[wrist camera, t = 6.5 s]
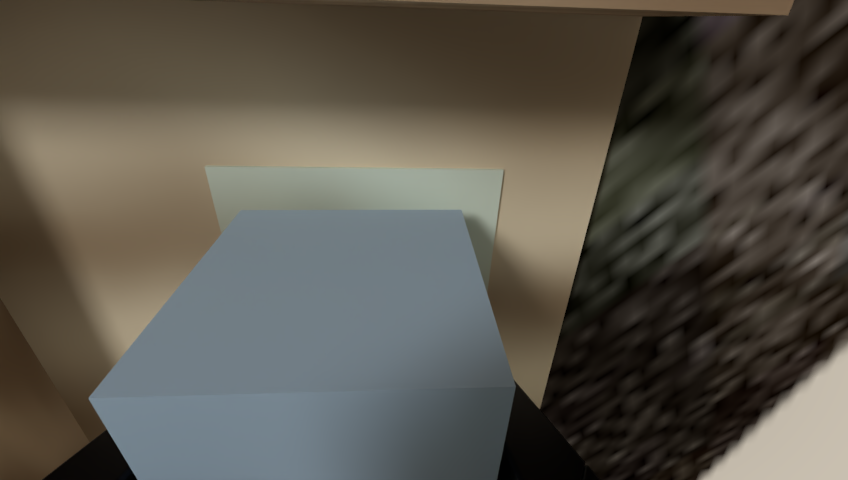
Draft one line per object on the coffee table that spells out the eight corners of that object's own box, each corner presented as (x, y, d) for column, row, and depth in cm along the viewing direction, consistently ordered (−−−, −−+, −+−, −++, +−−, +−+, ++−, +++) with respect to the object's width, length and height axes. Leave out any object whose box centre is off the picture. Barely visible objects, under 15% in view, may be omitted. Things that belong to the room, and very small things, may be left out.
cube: (461, 209, 9) (515, 386, 5) (449, 362, 12) (478, 569, 7) (240, 210, 9) (87, 398, 5) (276, 366, 11) (201, 584, 7)
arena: (528, 422, 15) (566, 544, 12) (70, 434, 14) (-39, 572, 11) (644, -51, 8) (838, -107, 4) (-273, -94, 7) (-962, -208, 3)
